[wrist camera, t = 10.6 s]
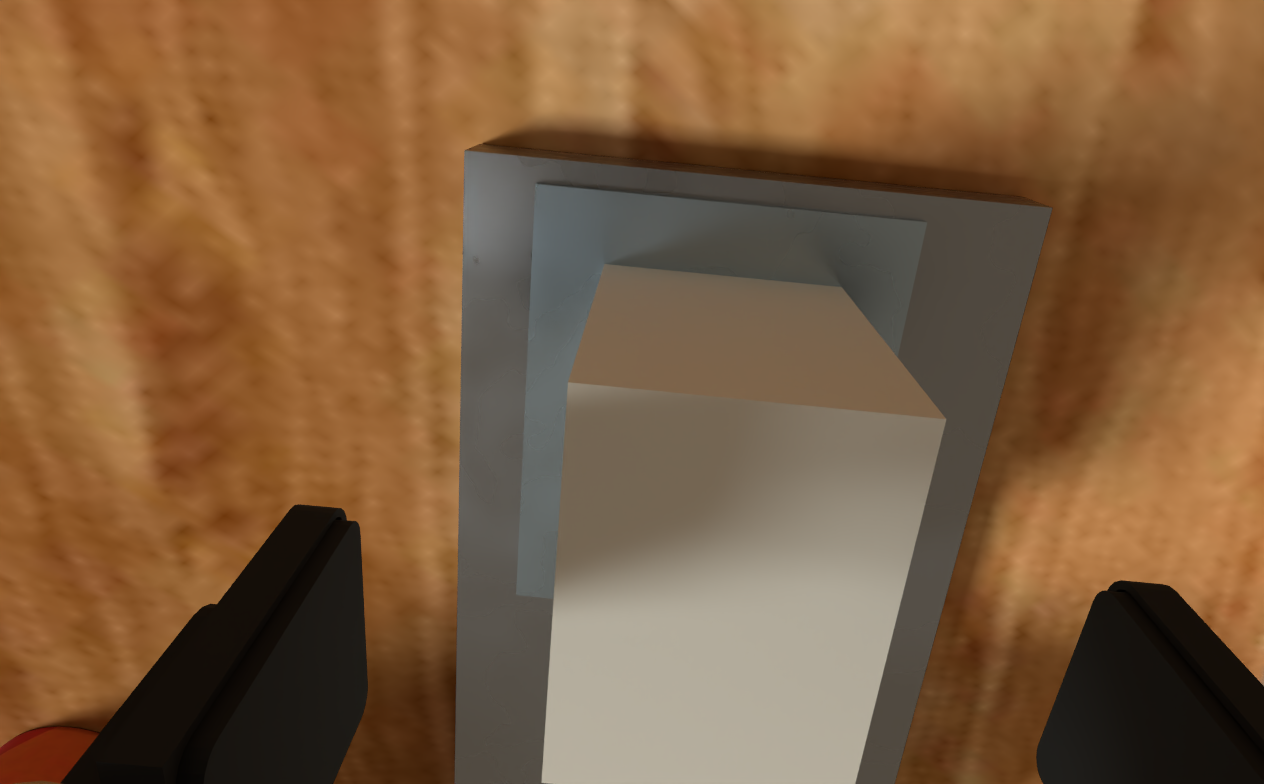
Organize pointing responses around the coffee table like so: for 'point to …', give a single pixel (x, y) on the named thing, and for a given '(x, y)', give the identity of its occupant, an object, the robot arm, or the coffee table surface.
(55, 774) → the coffee cup
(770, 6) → the coffee table surface
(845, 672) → the block
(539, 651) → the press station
